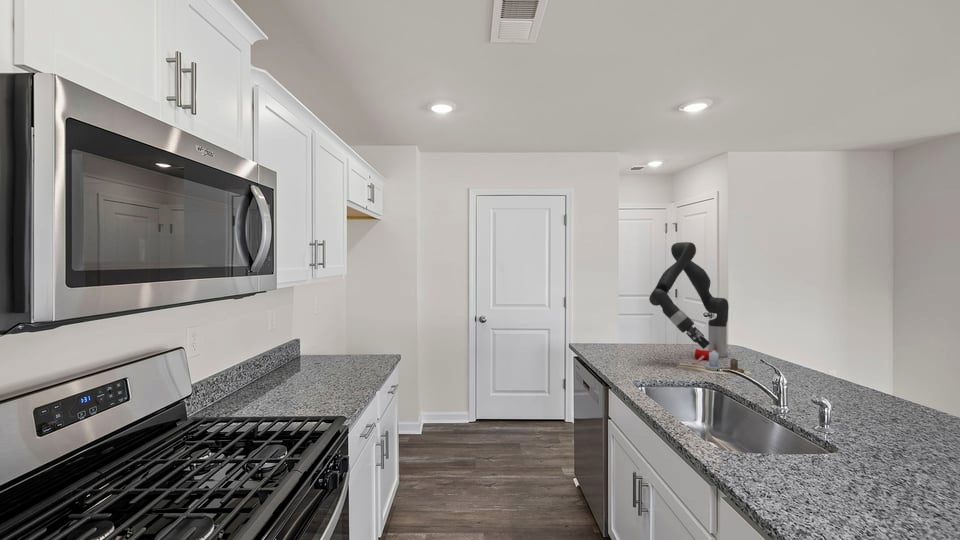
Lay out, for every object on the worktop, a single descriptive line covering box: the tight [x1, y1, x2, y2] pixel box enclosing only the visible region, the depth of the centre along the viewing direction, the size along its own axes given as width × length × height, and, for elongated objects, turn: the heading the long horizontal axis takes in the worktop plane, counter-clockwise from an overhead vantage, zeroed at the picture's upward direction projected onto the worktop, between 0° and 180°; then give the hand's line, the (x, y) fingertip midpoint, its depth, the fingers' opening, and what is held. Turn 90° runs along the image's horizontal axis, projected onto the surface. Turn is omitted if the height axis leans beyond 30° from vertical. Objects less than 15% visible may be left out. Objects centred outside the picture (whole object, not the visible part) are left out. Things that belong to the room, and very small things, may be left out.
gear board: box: [674, 362, 751, 377], centre depth 214 cm, size 13×31×1 cm, turn 54°
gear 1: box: [704, 352, 723, 371], centre depth 213 cm, size 7×7×8 cm
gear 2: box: [723, 357, 745, 373], centre depth 208 cm, size 8×8×7 cm
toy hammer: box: [691, 347, 717, 365], centre depth 233 cm, size 23×12×6 cm, turn 138°
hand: (706, 346), depth 215 cm, fingers open, 8 cm apart
